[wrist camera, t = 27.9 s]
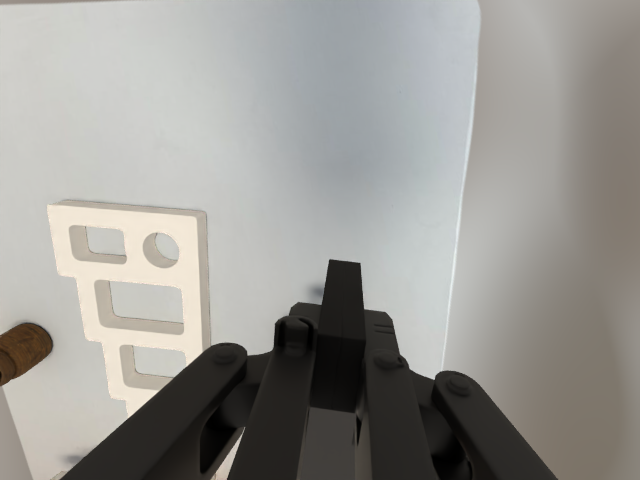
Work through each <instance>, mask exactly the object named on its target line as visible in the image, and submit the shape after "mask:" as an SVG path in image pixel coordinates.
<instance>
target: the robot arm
mask: <svg viewBox="0 0 640 480" xmlns="http://www.w3.org/2000/svg"><path fill="white" fill-rule="evenodd" d="M356 404H357V414H356V420H355V427H354V433H353V439H352V446H355V480H558V479H557V478H556V477H555V475H554V474H553V473H552V472H551V471H550V469H548V467H547V466H546V465H545V463H544V462H543V461H542V460H541V459H540V457H539V456H538V455H537V454H536V452H535V451H534V450H533V449H532V448H531V446H530V445H529V444H528V443H527V442H526V440H525V439H524V438H523V437H522V436H521V435H520V433H519V432H518V431H517V430H516V428H515V427H514V426H513V425H512V424H511V422H510V421H509V420H508V419H507V418H506V416H505V415H504V414H503V413H502V412H501V410H500V409H499V408H498V407H497V406H496V404H495V403H494V402H493V401H492V399H491V398H490V397H489V396H488V395H487V393H486V392H485V391H484V390H483V389H482V387H481V386H480V385H479V384H478V383H477V382H476V381H475V380H473V379H472V378H470V377H468V376H467V375H465V374H462V373H459V372H456V371H442V372H439V373H438V374H437V375H436V377H435V380H433V379H430V378H427V377H424V376H422V375H419V374H417V373H415V372H413V371H412V370H410V369H409V365H408V363H407V361H406V359H405V358H404V357H403V356H401V355H400V353H399V348H398V344H397V339H396V335H395V330H394V326H393V321H392V319H391V318H390V317H389V315H388V314H387V313H386V312H381V311H373V310H365V309H364V303H363V290H362V277H361V265H360V263H356V262H348V261H339V260H331V259H329V264H328V270H327V276H326V282H325V288H324V294H323V300H322V305H318V304H310V303H302V302H298V303H297V304H295V305H294V306H293V307H291V310H290V313H289V316H285V317H283V318H281V319H279V320H278V321H277V322H276V323H275V335H274V348H273V350H272V351H270V352H268V353H264V354H259V355H250V356H247V351H246V350H245V348H244V347H242V346H240V345H238V344H235V343H219V344H216V345H213V346H211V347H209V348H208V349H206V350H205V351H204V352H203V353H201V354H200V355H199V356H198V357H197V358H196V359H195V360H194V361H192V362H191V363H190V364H189V365H188V366H187V367H186V368H185V369H183V370H182V371H181V372H180V373H179V374H178V375H177V376H176V377H174V378H173V379H172V380H171V381H170V382H169V383H168V384H167V385H165V386H164V387H163V388H162V389H161V390H160V391H159V392H158V393H156V394H155V395H154V396H153V397H152V398H151V399H150V400H148V401H147V402H146V403H145V404H144V405H143V406H142V407H141V408H139V409H138V410H137V411H136V412H135V413H134V414H133V415H132V416H130V417H129V418H128V419H127V420H126V421H125V422H124V423H123V424H121V425H120V426H119V427H118V428H117V429H116V430H115V431H114V432H112V433H111V434H110V435H109V436H108V437H107V438H106V439H105V440H103V441H102V442H101V443H100V444H99V445H98V446H97V447H96V448H94V449H93V450H92V451H91V452H90V453H89V454H88V455H87V456H85V457H84V458H83V459H82V460H81V461H80V462H79V463H78V464H76V465H75V466H74V467H73V468H72V469H71V470H70V471H69V472H67V473H66V474H65V475H64V476H63V477H62V478H61V479H60V480H211V479H212V477H213V476H214V474H215V473H216V471H217V470H218V468H219V467H220V465H221V464H222V462H223V461H224V459H225V458H226V456H227V455H228V453H229V452H230V451H231V449H232V448H233V446H234V445H235V443H236V442H237V440H238V439H239V437H240V436H241V434H242V433H243V435H242V438H241V441H240V444H239V447H238V449H237V452H236V455H235V458H234V461H233V464H232V466H231V469H230V472H229V475H228V478H227V480H300V476H301V469H302V462H303V455H304V448H305V441H306V434H307V427H308V420H309V411H310V407H313V408H320V409H327V410H334V411H341V412H348V413H355V411H356ZM244 428H245V430H244ZM243 430H244V432H243Z"/></svg>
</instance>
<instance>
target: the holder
mask: <svg viewBox="0 0 640 480" xmlns="http://www.w3.org/2000/svg"><path fill="white" fill-rule="evenodd" d="M47 212H48V218H49V224H50V229H51V235H52V241H53V247H54V252H55V258H56V264H57V270H58V274H59V275H61V276H68V277H74V278H75V279H76V282H77V288H78V294H79V301H80V307H81V313H82V320H83V326H84V333H85V338H86V339H87V340H88V341H97V342H101V343H102V345H103V352H104V359H105V366H106V373H107V380H108V387H109V394H110V397H111V398H112V399H120V400H124V401H126V406H127V414H128V418H129V417H130V416H132V415H133V414H134V413H135V412H136V411H137V410H138V409H139V408H141V407H142V406H143V405H144V404H145V403H146V402H147V401H148V400H150V399H151V398H152V397H153V396H154V395H155V394H156V393H158V392H159V391H160V390H161V389H162V388H163V387H164V386H165V385H167V384H168V383H169V382H170V381H171V380H172V379H173V378H170V377H161V376H152V375H143V374H139V373H137V372H136V370H135V364H134V355H133V346H132V345H134V346H144V347H153V348H162V349H172V350H180V351H182V352H184V353H185V355H186V366H188V365H189V364H190V363H191V362H192V361H194V360H195V359H196V358H197V357H198V356H199V355H200V354H201V353H203V352H204V351H205V350H206V349H208V348H209V347H211V339H210V310H209V282H208V254H207V225H206V213H205V212H203V211H193V210H181V209H169V208H156V207H144V206H132V205H120V204H107V203H95V202H83V201H71V200H66V201H62V202H58V203H53V204H49V205H47ZM85 226H91V227H103V228H114V229H119V230H121V231H122V232H123V233H124V236H125V240H124V247H125V253H126V256H117V255H106V254H95V253H92V252H91V251H90V250H89V248H88V243H87V236H86V229H85ZM157 232H160V233H165V234H167V235H169V236H170V237H172V238H173V239H174V240H175V242H176V243H177V245H178V247H179V252H180V256H179V259H178V260H177V261H173V260H169V259H166V258H165V257H163V256H162V255H161V254H160V253H159V252H158V250H157V248H156V246H155V236H156V234H157ZM109 280H110V281H121V282H131V283H142V284H152V285H163V286H173V287H177V288H179V289H180V290H181V292H182V300H183V317H184V324H182V323H172V322H163V321H153V320H143V319H133V318H123V317H118V316H116V315H115V314H114V313H113V309H112V301H111V293H110V285H109ZM211 480H215V474H214V476H213V477H212V479H211Z"/></svg>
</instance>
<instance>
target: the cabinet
mask: <svg viewBox="0 0 640 480" xmlns="http://www.w3.org/2000/svg"><path fill="white" fill-rule="evenodd" d="M356 414H357V404H356V411H355V413H348V412H341V411H334V410H327V409H320V408H313V407H310V411H309V420H308V427H307V434H306V441H305V448H304V455H303V462H302V469H301V476H300V480H355V446H352V439H353V433H354V427H355V420H356Z"/></svg>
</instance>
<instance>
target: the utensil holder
mask: <svg viewBox="0 0 640 480" xmlns="http://www.w3.org/2000/svg"><path fill="white" fill-rule="evenodd" d="M51 348H52V343H51V339H50V337H49V335H48V334H47V333H46V332H45V331H44V330H43V329H42V328H40V327H39V326H36V325H33V324H21V325H18V326H16V327H14V328H12V329H10V330H8V331H7V332H5V333H3V334H2V335H0V386H2V385H4V384H6V383H8V382H9V381H10V380H11V379H14V378H17V377H19V376H21V375H23V374H24V373H26V372H27V371H28V370H30V369H31V368H32V367H34V366H35V365H37V364H38V363H39V362H41V361H42V360H43V359H44V358H45V357H47V356H48V354H49V353H50V351H51Z"/></svg>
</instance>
